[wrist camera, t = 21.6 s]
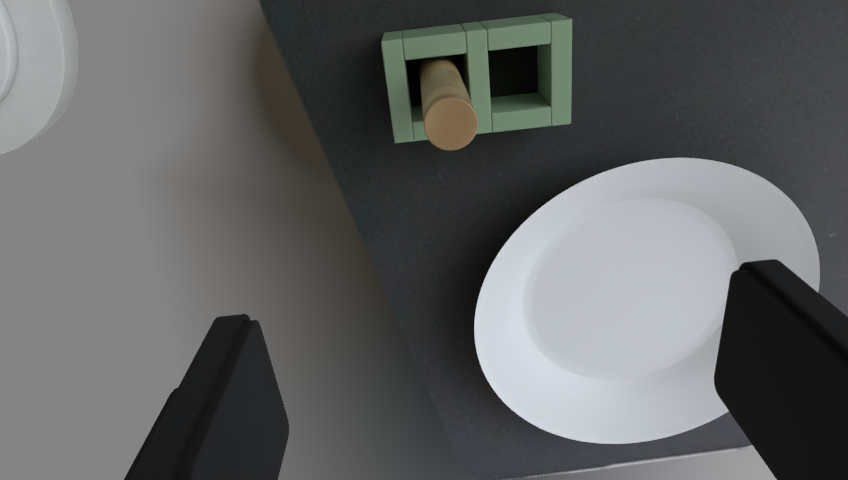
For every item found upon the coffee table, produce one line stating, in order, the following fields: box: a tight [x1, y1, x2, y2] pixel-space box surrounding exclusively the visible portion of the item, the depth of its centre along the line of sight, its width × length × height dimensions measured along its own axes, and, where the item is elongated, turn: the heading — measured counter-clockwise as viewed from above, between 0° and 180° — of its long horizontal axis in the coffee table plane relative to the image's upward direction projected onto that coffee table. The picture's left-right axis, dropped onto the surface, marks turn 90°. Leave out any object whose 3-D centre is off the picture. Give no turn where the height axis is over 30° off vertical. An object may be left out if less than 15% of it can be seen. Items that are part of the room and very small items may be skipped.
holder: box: [381, 13, 572, 143], centre depth 35 cm, size 11×6×4 cm, turn 96°
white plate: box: [474, 158, 820, 444], centre depth 43 cm, size 25×25×4 cm
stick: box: [419, 55, 478, 151], centre depth 30 cm, size 2×2×13 cm
